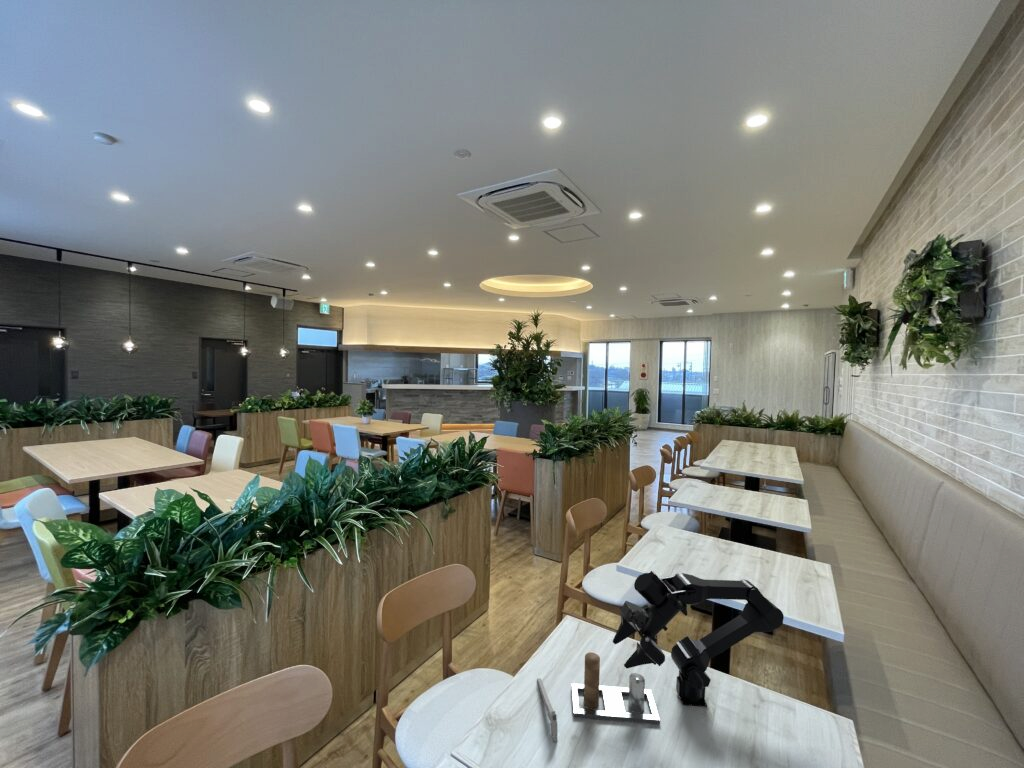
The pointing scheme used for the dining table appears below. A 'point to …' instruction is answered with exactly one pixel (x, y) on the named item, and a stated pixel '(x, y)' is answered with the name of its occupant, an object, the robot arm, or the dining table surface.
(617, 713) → the plate
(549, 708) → the caliper
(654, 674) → the dining table surface
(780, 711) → the dining table surface
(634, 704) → the steel pin
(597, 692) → the walnut pin
